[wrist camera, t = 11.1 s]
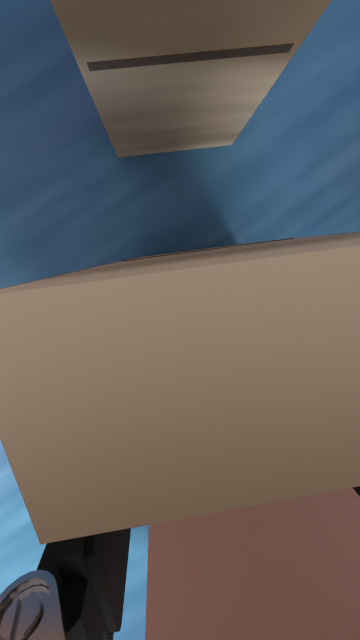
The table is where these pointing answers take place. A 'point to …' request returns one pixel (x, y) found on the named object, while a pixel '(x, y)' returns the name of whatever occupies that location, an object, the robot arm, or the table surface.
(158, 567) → the tile
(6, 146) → the table surface
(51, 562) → the robot arm
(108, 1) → the tile
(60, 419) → the tile
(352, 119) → the table surface
